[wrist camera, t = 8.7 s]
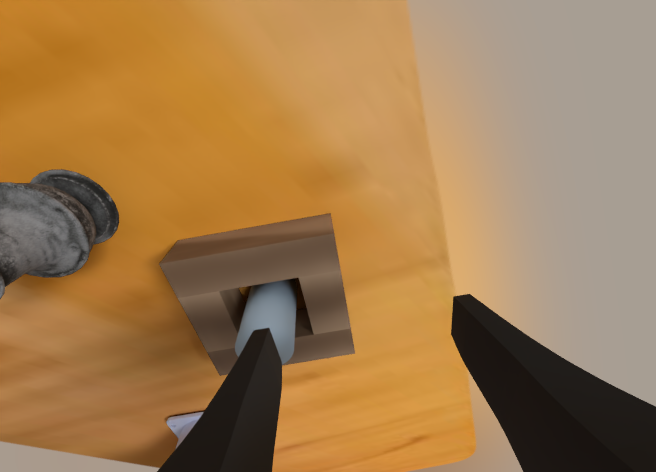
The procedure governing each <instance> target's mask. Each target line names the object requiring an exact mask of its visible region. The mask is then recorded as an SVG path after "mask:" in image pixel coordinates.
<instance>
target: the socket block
mask: <svg viewBox="0 0 656 472" xmlns="http://www.w3.org/2000/svg"><path fill="white" fill-rule="evenodd" d="M159 265H160V267H161V269H162V270H163V272H164V274H165V276H166V278H167V280H168V281H169V283H170V285H171V287H172V289H173V291H174V292H175V294H176V296H177V298H178V300H179V302H180V303H181V305H182V307H183V309H184V311H185V313H186V314H187V316H188V318H189V320H190V322H191V324H192V325H193V327H194V329H195V331H196V333H197V335H198V336H199V338H200V340H201V342H202V344H203V346H204V347H205V349H206V351H207V353H208V355H209V357H210V358H211V360H212V362H213V364H214V366H215V368H216V369H217V371H218V373H219V375H220V376H221V375H227V374H229V372H230V371H231V369H232V367H233V366H234V364H235V362H236V361H237V359H238V356H237V354H236V352H235V343H236V340H237V336H238V332H239V329H240V325H241V321H242V318H243V314H244V311H245V307H246V305H245V303H244V300H243V298H242V295H241V293H240V290H239V288H240V287H246V286H252V285H258V284H264V283H270V282H275V281H281V280H287V279H293V278H299V281H300V285H301V289H302V292H303V296H304V300H305V304H306V307H307V308H304V309H298V310H296V322H295V341H294V353H293V355H292V357H291V358H290V359H289V360H288V361H287V362H286V363H284V364H283V365H288V364H294V363H300V362H306V361H312V360H318V359H324V358H330V357H336V356H342V355H349V354H355V350H354V344H353V339H352V333H351V327H350V321H349V316H348V310H347V304H346V299H345V293H344V287H343V282H342V276H341V270H340V265H339V259H338V253H337V248H336V242H335V236H334V231H333V225H332V219H331V213H330V214H324V215H319V216H313V217H307V218H302V219H296V220H290V221H285V222H279V223H273V224H268V225H262V226H256V227H251V228H245V229H239V230H234V231H228V232H222V233H217V234H211V235H205V236H200V237H194V238H189V239H183V240H178V241H177V242H176V244H175V245H174V246H173V247H172V249H171V250H170V251H169V252H168V254H167V255H166V256H165V257H164V258H163V260H162V261H161V262H160V263H159Z"/></svg>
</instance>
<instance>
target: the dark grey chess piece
mask: <svg viewBox="0 0 656 472" xmlns="http://www.w3.org/2000/svg"><path fill="white" fill-rule="evenodd" d="M118 224H119V214H118V211H117V208H116V205H115V203H114V201H113V200H112V199H111V197H110V196H109V194H108V193H107V192H106V191H105V190H104V189H103V188H102V187H101V186H100V185H99V184H97V183H96V182H94V181H93V180H91V179H90V178H88V177H86V176H83V175H81V174H79V173H77V172H72V171H68V170H49V171H46V172H42V173H40V174H38V175H37V176H36V177H34V178H33V179H32V180H31V182H30V183H11V182H10V183H0V299H1V297H2V296H3V295H4V291H5V287H6V286H7V285H9V284H10V283H12V282H13V281H15V280H16V279H18V278H19V277H21V276H22V275H23V274H29V275H33V276H39V277H62V276H66V275H70V274H72V273H74V272H76V271H77V270H79V269H81V268H82V267H83V265H84V264H85V263H86V261H87V260H88V257H89V253H90V251H91V249H92V246H93V244H97V243H101V242H104V241H106V240H107V239H109V238H111V237H112V236H113V234H114V233H115V232H116V230H117V227H118Z"/></svg>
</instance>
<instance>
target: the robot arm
mask: <svg viewBox="0 0 656 472" xmlns="http://www.w3.org/2000/svg"><path fill="white" fill-rule="evenodd" d="M451 335H452V337H453V339H454V342H455V344H456V346H457V349H458V351H459V353H460V355H461V358H462V360H463V361H464V363H465V365H466V367H467V368H468V370H469V372H470V374H471V375H472V377H473V379H474V380H475V382H476V384H477V386H478V387H479V389H480V391H481V392H482V394H483V396H484V397H485V399H486V401H487V402H488V404H489V406H490V407H491V409H492V411H493V412H494V414H495V416H496V418H497V419H498V421H499V423H500V425H501V427H502V429H503V430H504V432H505V434H506V436H507V438H508V440H509V443H510V444H511V446H512V449H513V451H514V453H515V455H516V457H517V459H518V461H519V463H520V465H521V468H522V470H523V472H656V407H655V406H653V405H651V404H649V403H647V402H645V401H643V400H641V399H639V398H636V397H635V396H633V395H630V394H628V393H627V392H625V391H622V390H620V389H618V388H616V387H614V386H612V385H611V384H609V383H607V382H605V381H603V380H601V379H599V378H597V377H595V376H594V375H592V374H590V373H588V372H586V371H584V370H583V369H581V368H579V367H578V366H575V365H574V364H572V363H570V362H569V361H567V360H565V359H564V358H562V357H560V356H559V355H557V354H555V353H554V352H552V351H551V350H549V349H547V348H546V347H544V346H543V345H541V344H540V343H538V342H536V341H535V340H533V339H532V338H530V337H529V336H527V335H526V334H524V333H523V332H522V331H520V330H519V329H517V328H516V327H514V326H513V325H511V324H510V323H509V322H507V321H506V320H504V319H503V318H502V317H500V316H499V315H498V314H496V313H495V312H493V311H492V310H491V309H489V308H488V307H487V306H485V305H484V304H483V303H481V302H480V301H478V300H477V299H476V298H474V297H473V296H472V295H470V294H467V295H460V296H454V297H453V313H452V330H451ZM281 389H282V361H281V358H280V356H279V353H278V350H277V347H276V345H275V342H274V339H273V336H272V334H271V331H270V328H264V329H258V330H254V331H253V332H252V334H251V335H250V337H249V339H248V341H247V343H246V345H245V346H244V348H243V350H242V352H241V354H240V355H239V357H238V359H237V361H236V362H235V364H234V366H233V367H232V369H231V371H230V372H229V374H228V376H227V377H226V379H225V381H224V382H223V384H222V385H221V387H220V389H219V390H218V392H217V393H216V395H215V396H214V398H213V399H212V401H211V402H210V404H209V405H208V407H207V408H206V410H205V411H204V412H199V413H192V414H186V415H180V416H174V417H169V418H168V419H167V422H166V423H167V425H168V426H169V427H170V429H171V430H172V431H173V432H174V434H175V435H176V436H177V437H178V439H179V440H178V442H177V445H176V448H175V451H174V452H173V453H172V454H171V456H170V457H169V458H168V459H167V461H166V462H165V463H164V464H163V465H162V467H161V468H160V469H159V470H158V471H157V472H272V465H273V454H274V446H275V438H276V430H277V422H278V414H279V406H280V398H281Z"/></svg>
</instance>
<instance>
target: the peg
mask: <svg viewBox="0 0 656 472" xmlns="http://www.w3.org/2000/svg"><path fill="white" fill-rule="evenodd" d="M296 303H297V283H296V281H295V279H294V278H293V279H287V280H281V281H275V282H270V283H264V284H258V285H252V286H251V289H250V292H249V296H248V300H247V303H246V307H245V311H244V314H243V318H242V321H241V325H240V329H239V332H238V336H237V340H236V343H235V352H236V354H237V356H238V357H239V355H240V354H241V352H242V350H243V348H244V346H245V345H246V343H247V341H248V339H249V337H250V335H251V334H252V332H253V331H254V330H258V329H264V328H270V331H271V334H272V336H273V339H274V342H275V345H276V347H277V350H278V353H279V356H280V358H281V361H282V365H283V364H284V363H286V362H287V361H288V360H289V359H290V358H291V357H292V355H293V353H294V341H295V322H296Z"/></svg>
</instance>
